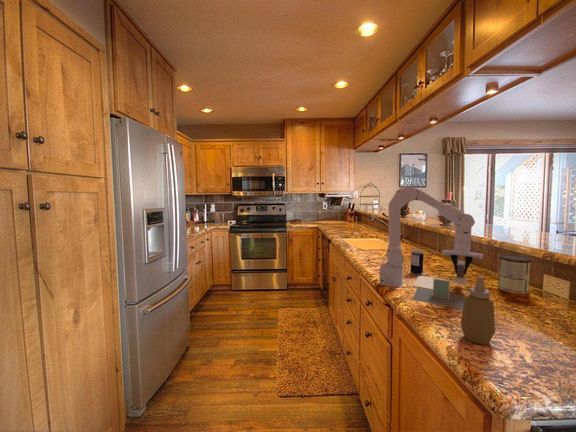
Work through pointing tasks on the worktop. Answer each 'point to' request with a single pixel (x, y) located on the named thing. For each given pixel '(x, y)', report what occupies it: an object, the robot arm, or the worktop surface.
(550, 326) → the worktop surface
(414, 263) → the beverage can
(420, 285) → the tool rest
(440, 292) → the tile
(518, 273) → the coffee can
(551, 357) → the worktop surface
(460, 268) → the grey bar
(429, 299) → the mat
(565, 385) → the worktop surface
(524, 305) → the worktop surface
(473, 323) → the squeeze bottle
